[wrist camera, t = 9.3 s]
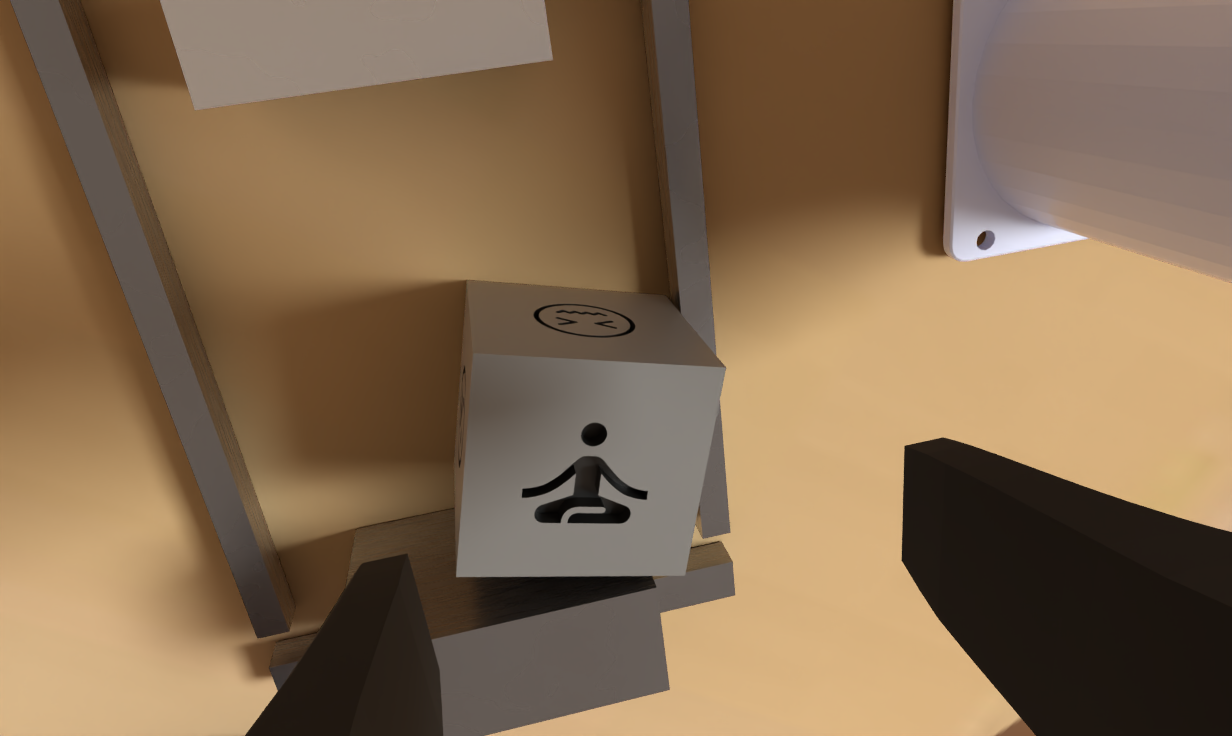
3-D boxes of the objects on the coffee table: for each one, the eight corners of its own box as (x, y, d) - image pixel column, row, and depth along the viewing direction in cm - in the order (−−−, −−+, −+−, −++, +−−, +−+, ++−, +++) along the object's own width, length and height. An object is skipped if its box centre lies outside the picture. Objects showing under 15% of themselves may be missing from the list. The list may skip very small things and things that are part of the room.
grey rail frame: (633, -502, 15) (718, -744, 10) (724, 574, 24) (788, 698, 20) (-141, -464, 13) (-455, -732, 8) (288, 675, 23) (249, 835, 18)
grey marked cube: (454, 461, 21) (456, 576, 17) (466, 278, 20) (473, 353, 15) (636, 466, 22) (685, 575, 18) (664, 294, 21) (725, 367, 16)
